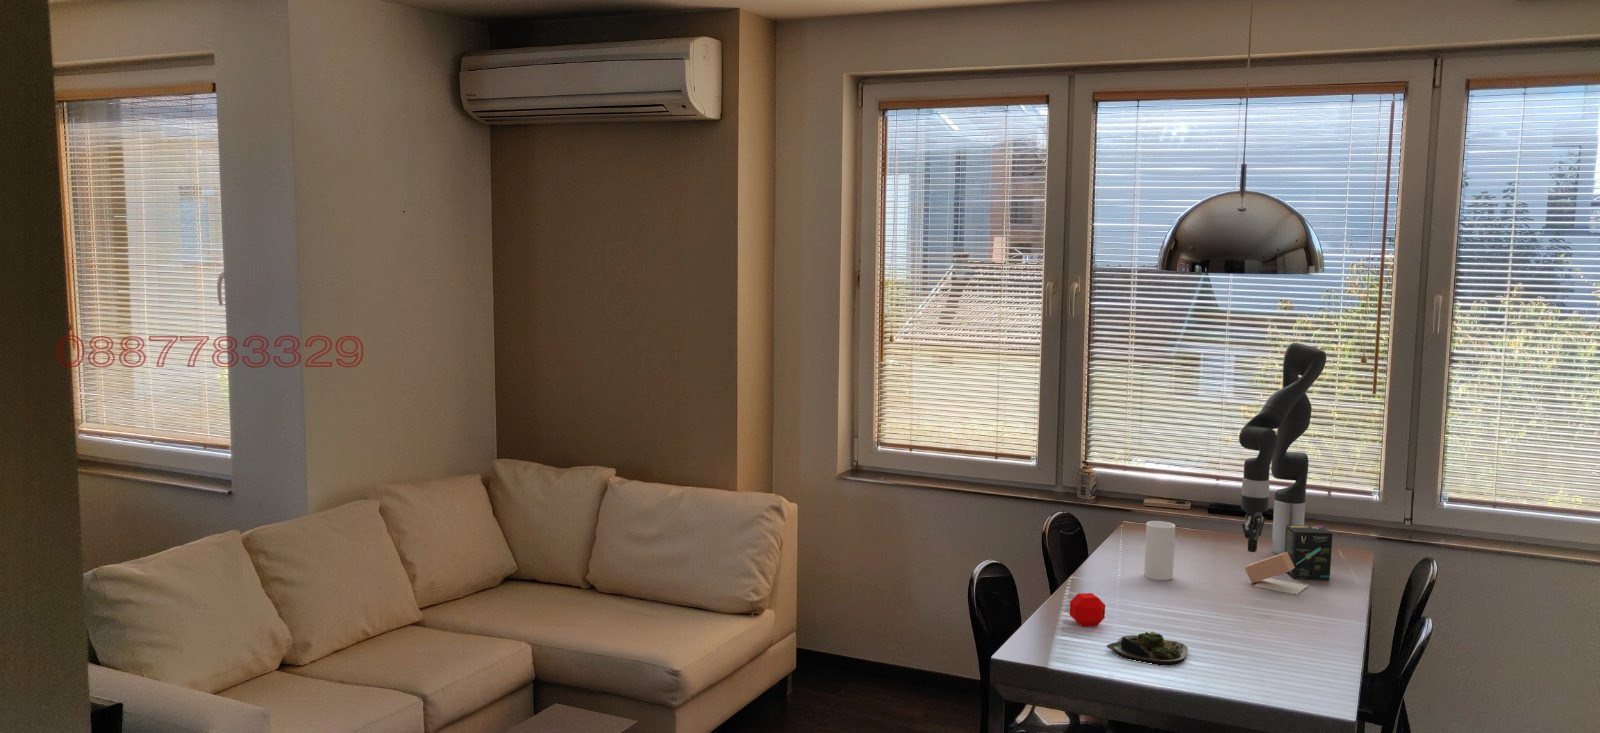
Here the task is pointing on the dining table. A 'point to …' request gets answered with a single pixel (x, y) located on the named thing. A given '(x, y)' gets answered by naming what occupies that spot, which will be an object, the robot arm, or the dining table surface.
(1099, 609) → the ball
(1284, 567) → the block
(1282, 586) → the mat
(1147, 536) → the cup
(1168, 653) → the salad plate
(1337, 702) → the dining table surface
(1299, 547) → the tampon box
